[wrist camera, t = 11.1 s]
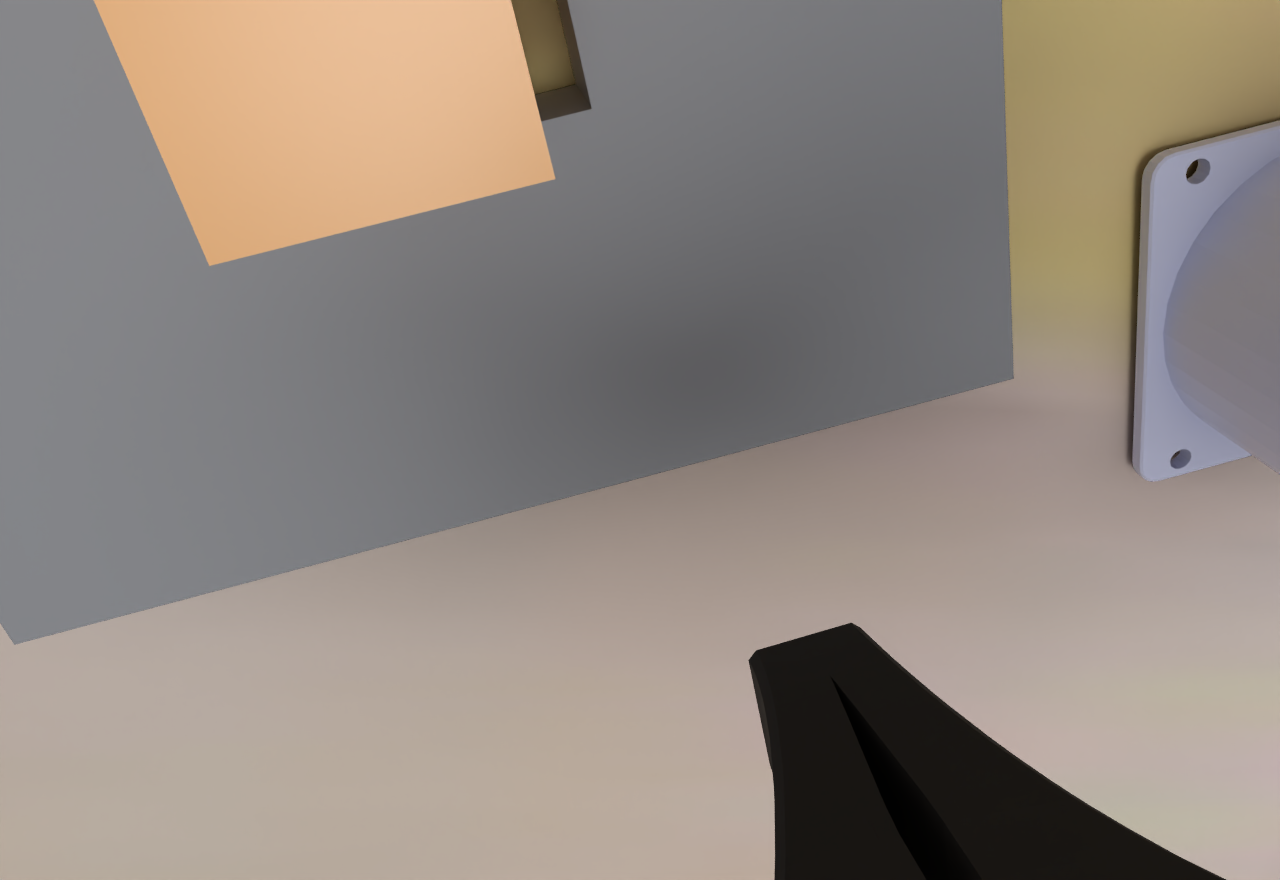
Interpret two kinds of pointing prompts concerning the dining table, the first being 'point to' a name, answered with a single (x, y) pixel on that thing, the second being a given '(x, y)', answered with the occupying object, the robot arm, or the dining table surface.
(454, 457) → the socket plate
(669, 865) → the dining table surface
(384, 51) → the plug
